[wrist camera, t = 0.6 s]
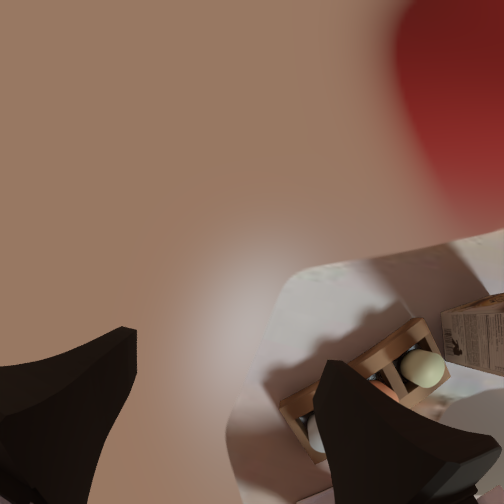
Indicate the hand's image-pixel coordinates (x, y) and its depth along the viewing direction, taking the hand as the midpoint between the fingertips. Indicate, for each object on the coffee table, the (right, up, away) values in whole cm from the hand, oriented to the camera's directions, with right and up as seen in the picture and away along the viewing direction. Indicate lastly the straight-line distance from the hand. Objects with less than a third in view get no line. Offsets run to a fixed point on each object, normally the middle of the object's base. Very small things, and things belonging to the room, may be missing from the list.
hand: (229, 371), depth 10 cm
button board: (+13, -11, +17) cm, 24 cm away
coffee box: (+27, -5, +17) cm, 32 cm away
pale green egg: (+18, -7, +15) cm, 24 cm away
